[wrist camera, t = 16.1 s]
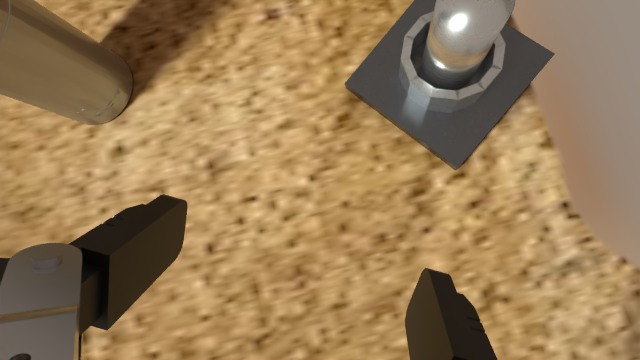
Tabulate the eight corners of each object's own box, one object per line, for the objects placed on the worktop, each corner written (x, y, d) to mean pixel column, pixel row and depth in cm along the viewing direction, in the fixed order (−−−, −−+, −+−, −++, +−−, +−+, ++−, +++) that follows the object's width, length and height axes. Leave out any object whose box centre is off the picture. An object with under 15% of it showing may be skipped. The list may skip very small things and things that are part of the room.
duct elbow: (474, 94, 34) (517, 31, 23) (420, 97, 34) (437, 37, 24) (469, 3, 35) (509, -98, 24) (417, 7, 36) (433, -88, 25)
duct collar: (345, 88, 37) (340, 68, 32) (431, -14, 37) (438, -48, 32) (455, 170, 34) (466, 161, 29) (548, 59, 34) (574, 33, 29)
